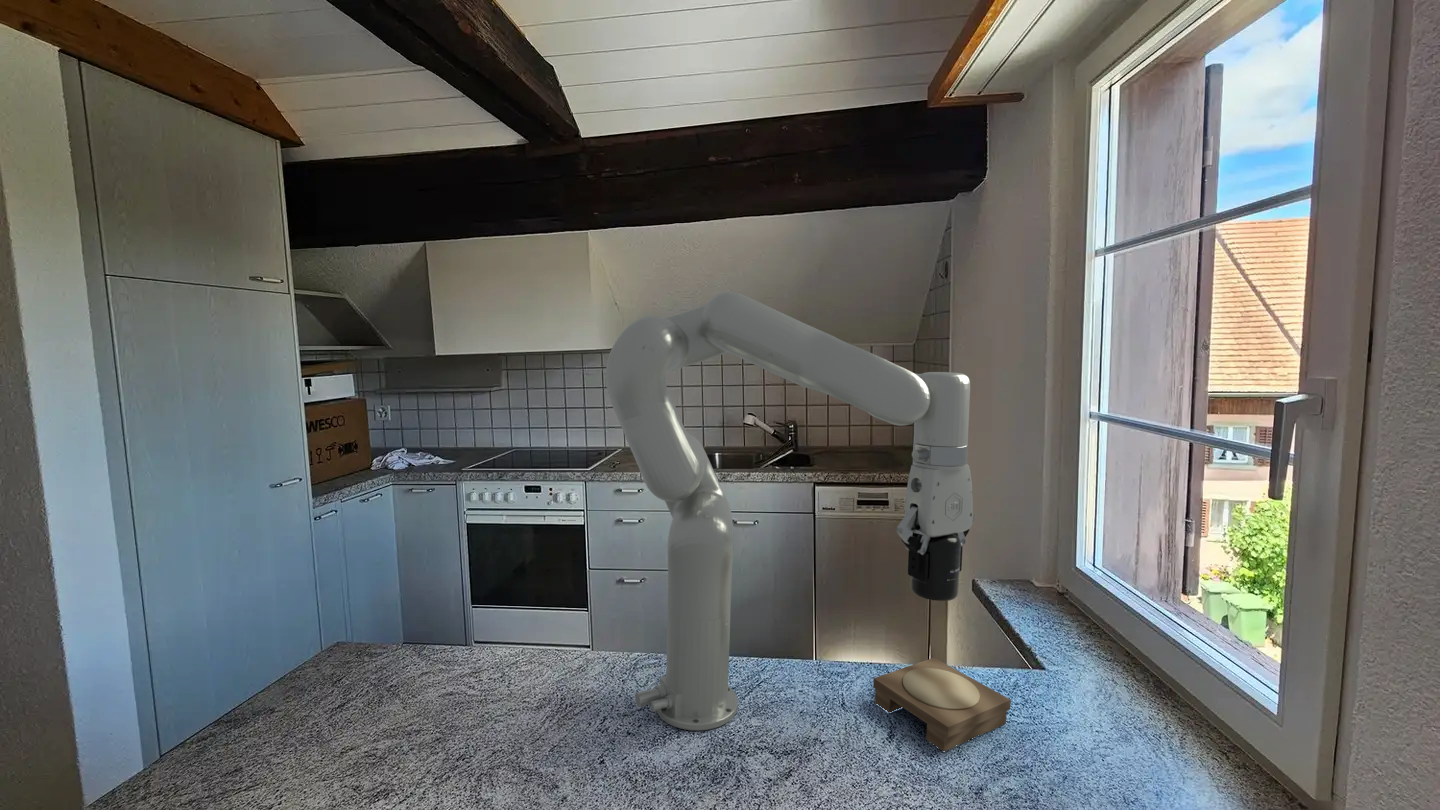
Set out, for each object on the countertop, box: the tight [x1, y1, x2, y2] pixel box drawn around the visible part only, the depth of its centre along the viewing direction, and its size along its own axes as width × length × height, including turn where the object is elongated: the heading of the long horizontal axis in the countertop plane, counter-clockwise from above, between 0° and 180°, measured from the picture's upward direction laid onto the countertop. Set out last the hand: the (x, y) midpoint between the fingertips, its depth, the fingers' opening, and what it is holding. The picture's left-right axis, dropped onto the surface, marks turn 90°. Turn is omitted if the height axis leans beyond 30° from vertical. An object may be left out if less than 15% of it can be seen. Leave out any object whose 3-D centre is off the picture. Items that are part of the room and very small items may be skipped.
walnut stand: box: [872, 657, 1012, 752], centre depth 91 cm, size 14×14×4 cm
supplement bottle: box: [910, 529, 962, 602], centre depth 89 cm, size 7×7×12 cm
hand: (934, 572), depth 89 cm, fingers closed on supplement bottle, 6 cm apart
